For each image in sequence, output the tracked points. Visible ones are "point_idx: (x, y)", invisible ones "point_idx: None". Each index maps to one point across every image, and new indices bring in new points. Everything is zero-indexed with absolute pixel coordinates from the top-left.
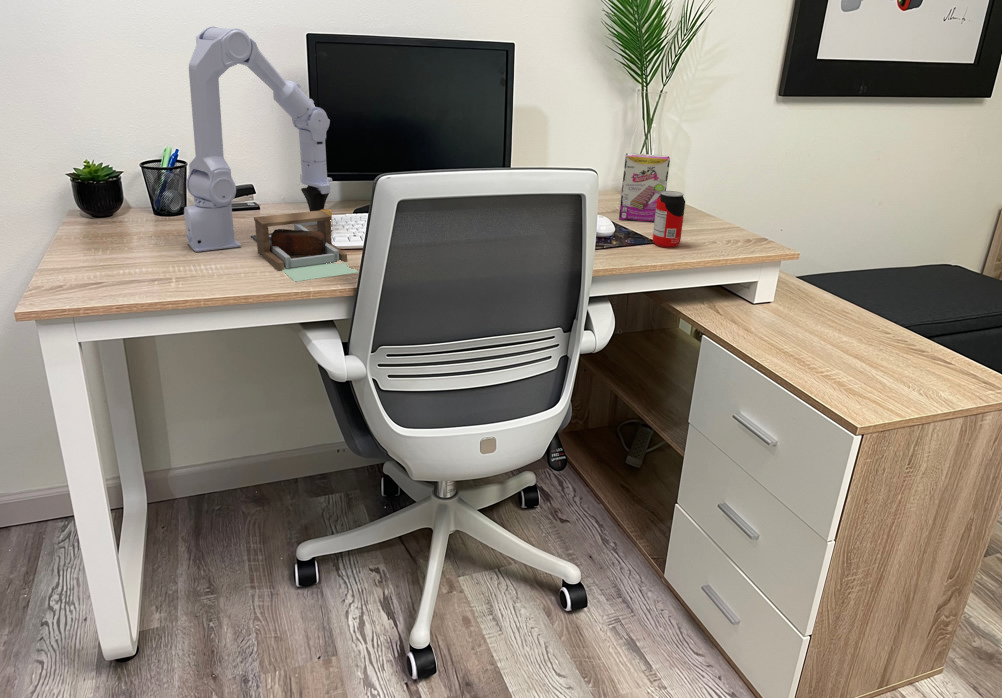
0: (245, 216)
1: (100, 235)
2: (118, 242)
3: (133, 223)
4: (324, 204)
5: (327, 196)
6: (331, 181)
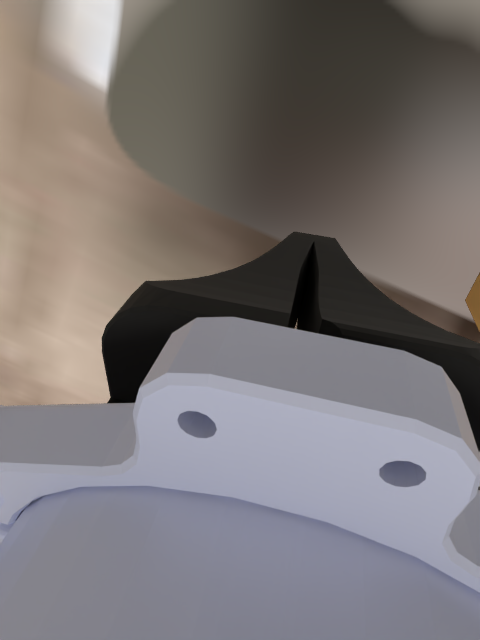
0: (16, 398)
1: None
2: None
3: None
4: (373, 287)
5: (436, 328)
6: (456, 400)
